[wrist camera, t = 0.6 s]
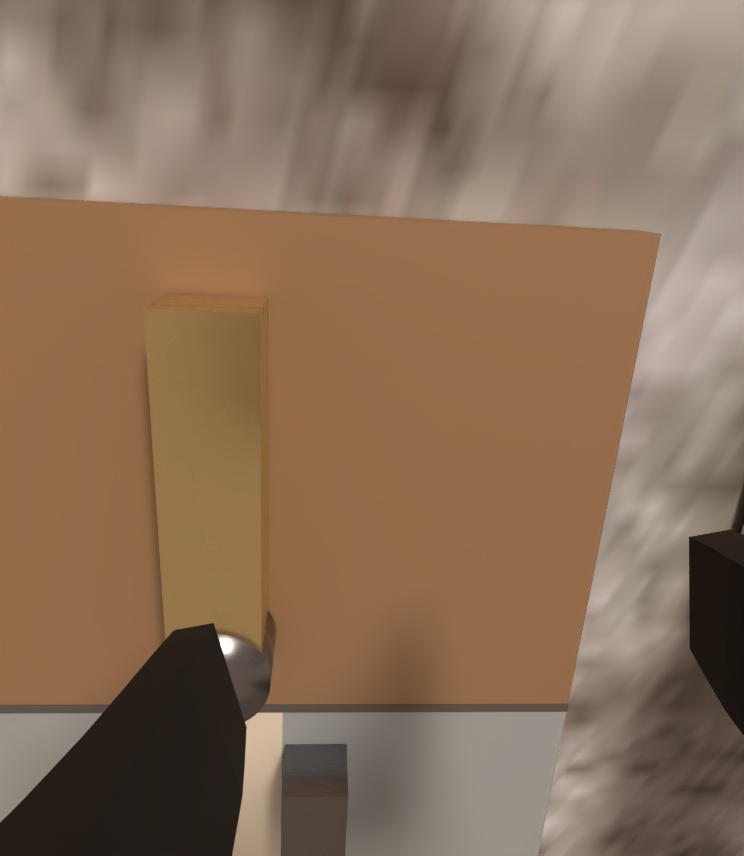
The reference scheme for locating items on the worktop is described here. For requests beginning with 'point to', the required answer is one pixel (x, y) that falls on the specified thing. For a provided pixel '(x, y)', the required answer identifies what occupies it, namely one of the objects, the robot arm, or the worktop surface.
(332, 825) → the block
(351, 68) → the worktop surface
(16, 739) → the door mockup
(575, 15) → the worktop surface
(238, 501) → the latch arm
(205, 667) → the robot arm
